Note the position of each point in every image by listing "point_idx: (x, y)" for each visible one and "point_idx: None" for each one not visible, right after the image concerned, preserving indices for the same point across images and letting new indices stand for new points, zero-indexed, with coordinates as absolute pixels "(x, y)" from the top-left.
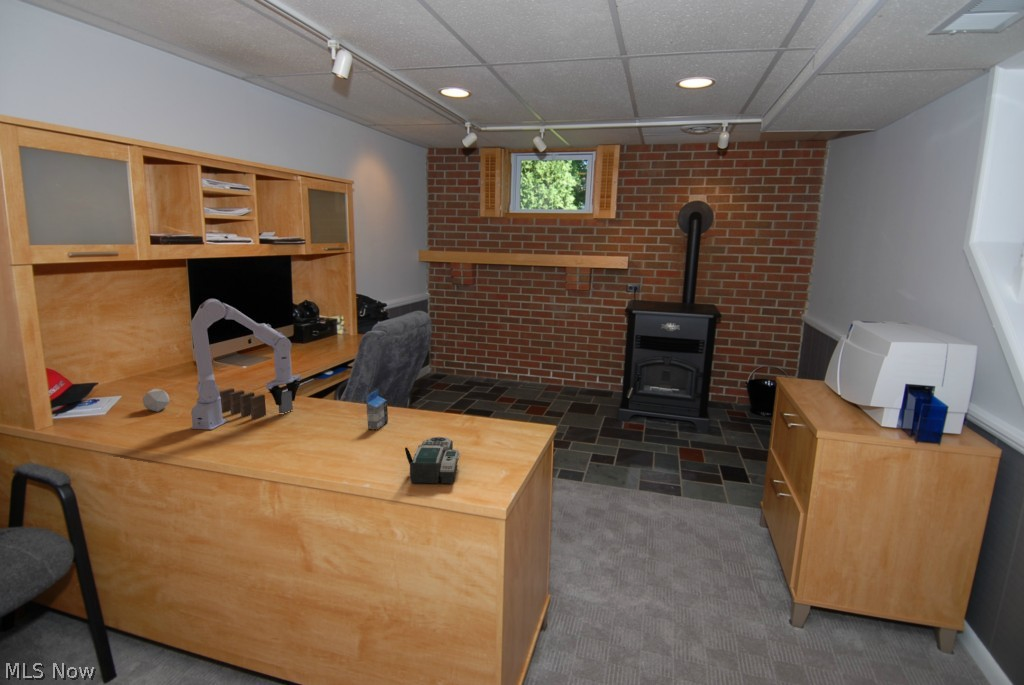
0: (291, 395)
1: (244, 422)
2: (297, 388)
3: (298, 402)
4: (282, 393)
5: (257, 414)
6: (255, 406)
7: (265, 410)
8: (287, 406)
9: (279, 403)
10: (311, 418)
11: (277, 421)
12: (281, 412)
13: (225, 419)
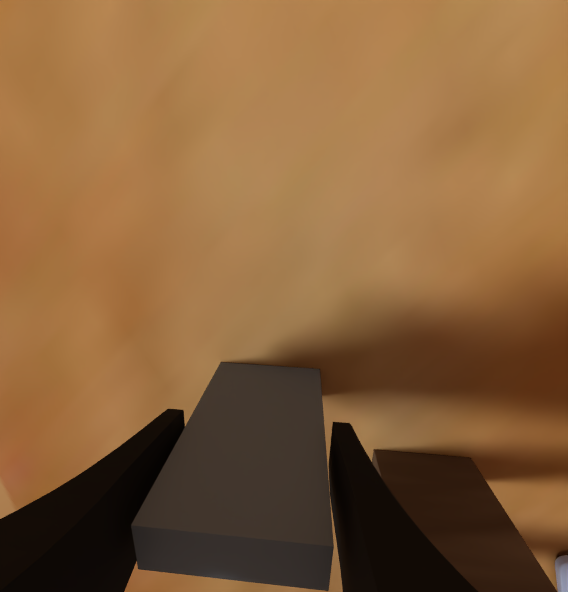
0: (167, 467)
1: (548, 468)
2: (24, 511)
3: (75, 452)
4: (288, 551)
5: (458, 479)
6: (515, 557)
7: (386, 482)
8: (259, 396)
9: (357, 440)
10: (283, 72)
11: (461, 291)
12: (320, 384)
13: (562, 579)
